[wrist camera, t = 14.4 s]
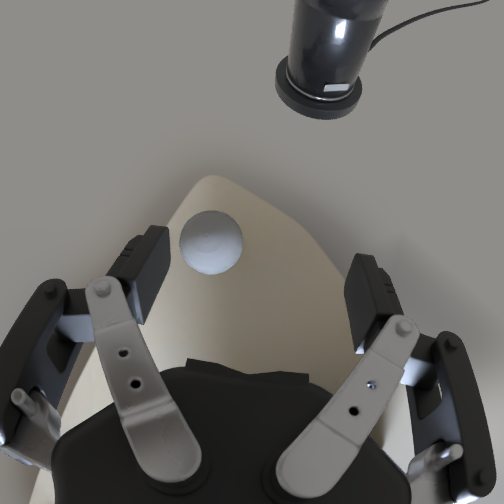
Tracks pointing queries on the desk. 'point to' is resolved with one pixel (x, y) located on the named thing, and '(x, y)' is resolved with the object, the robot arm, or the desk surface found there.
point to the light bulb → (211, 242)
